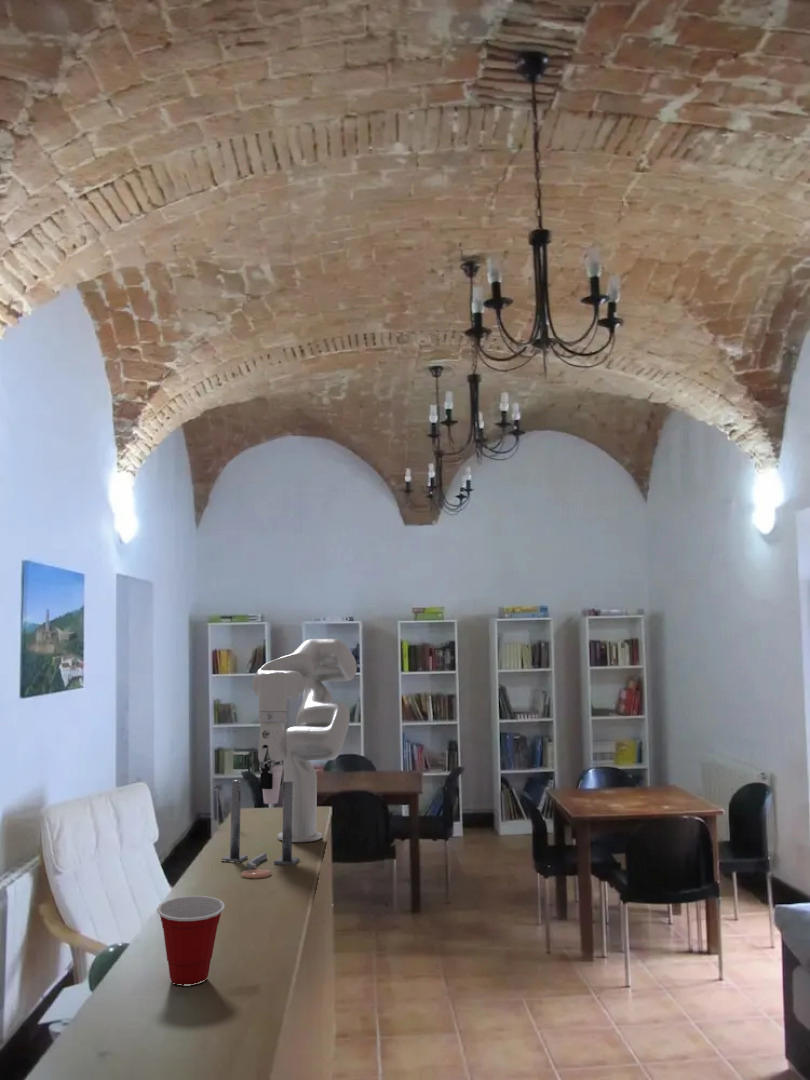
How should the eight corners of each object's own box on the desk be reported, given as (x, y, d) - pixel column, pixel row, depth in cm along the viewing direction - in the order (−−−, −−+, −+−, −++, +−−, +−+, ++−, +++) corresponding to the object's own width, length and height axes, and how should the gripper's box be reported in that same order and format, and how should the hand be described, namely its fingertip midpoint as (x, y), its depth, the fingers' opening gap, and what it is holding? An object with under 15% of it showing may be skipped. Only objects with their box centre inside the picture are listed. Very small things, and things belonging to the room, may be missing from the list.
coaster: (247, 871, 225) (247, 868, 225) (274, 872, 224) (274, 869, 224) (236, 877, 218) (236, 875, 218) (264, 879, 217) (264, 876, 217)
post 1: (229, 857, 240) (231, 778, 242) (247, 858, 239) (249, 779, 241) (221, 861, 235) (223, 781, 238) (240, 862, 234) (241, 781, 237)
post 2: (280, 860, 237) (282, 780, 239) (299, 861, 236) (300, 780, 238) (274, 864, 232) (275, 783, 235) (292, 865, 231) (294, 783, 234)
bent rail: (263, 858, 239) (263, 852, 239) (275, 859, 238) (275, 853, 238) (242, 871, 225) (242, 864, 225) (255, 871, 224) (255, 865, 225)
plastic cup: (155, 996, 143) (157, 915, 145) (153, 973, 153) (156, 898, 155) (226, 989, 146) (228, 910, 148) (220, 967, 156) (221, 893, 158)
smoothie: (279, 804, 240) (280, 749, 242) (255, 804, 241) (257, 749, 243) (285, 801, 247) (286, 747, 248) (261, 800, 247) (263, 747, 249)
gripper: (274, 720, 237) (273, 792, 235) (296, 716, 254) (295, 783, 252) (247, 719, 239) (245, 791, 237) (270, 716, 256) (269, 782, 253)
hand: (271, 786), depth 244 cm, fingers closed on smoothie, 6 cm apart
